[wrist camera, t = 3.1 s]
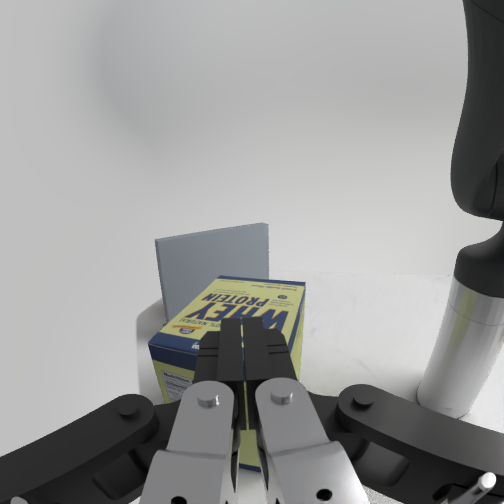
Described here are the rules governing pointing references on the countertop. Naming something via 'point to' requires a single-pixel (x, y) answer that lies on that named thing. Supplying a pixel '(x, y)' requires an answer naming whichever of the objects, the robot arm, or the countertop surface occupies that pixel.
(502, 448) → the robot arm
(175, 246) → the display board
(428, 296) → the countertop surface
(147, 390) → the countertop surface
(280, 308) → the protein box
